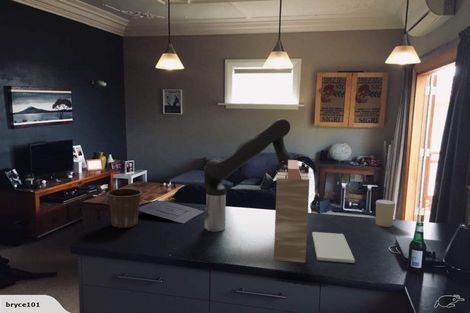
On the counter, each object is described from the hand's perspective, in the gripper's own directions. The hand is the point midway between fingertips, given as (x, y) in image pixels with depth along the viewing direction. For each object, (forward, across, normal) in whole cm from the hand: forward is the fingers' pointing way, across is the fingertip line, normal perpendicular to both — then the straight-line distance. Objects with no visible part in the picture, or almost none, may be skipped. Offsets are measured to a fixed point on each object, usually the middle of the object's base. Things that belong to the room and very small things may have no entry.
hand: (292, 164), depth 153 cm
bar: (+5, 0, +6) cm, 8 cm away
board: (-17, +18, +30) cm, 39 cm away
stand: (-8, 0, +36) cm, 37 cm away
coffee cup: (-51, +49, +11) cm, 71 cm away
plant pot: (-27, -80, +25) cm, 88 cm away
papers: (-46, -64, +14) cm, 80 cm away
